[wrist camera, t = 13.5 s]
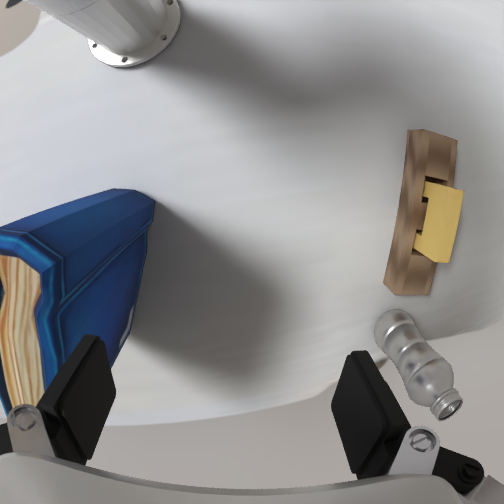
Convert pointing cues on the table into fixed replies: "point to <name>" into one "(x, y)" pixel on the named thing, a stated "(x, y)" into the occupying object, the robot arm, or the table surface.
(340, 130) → the table surface
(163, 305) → the table surface
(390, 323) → the plastic bottle
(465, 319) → the table surface
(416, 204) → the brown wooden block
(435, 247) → the yellow notched flat block
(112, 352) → the book
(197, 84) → the table surface
